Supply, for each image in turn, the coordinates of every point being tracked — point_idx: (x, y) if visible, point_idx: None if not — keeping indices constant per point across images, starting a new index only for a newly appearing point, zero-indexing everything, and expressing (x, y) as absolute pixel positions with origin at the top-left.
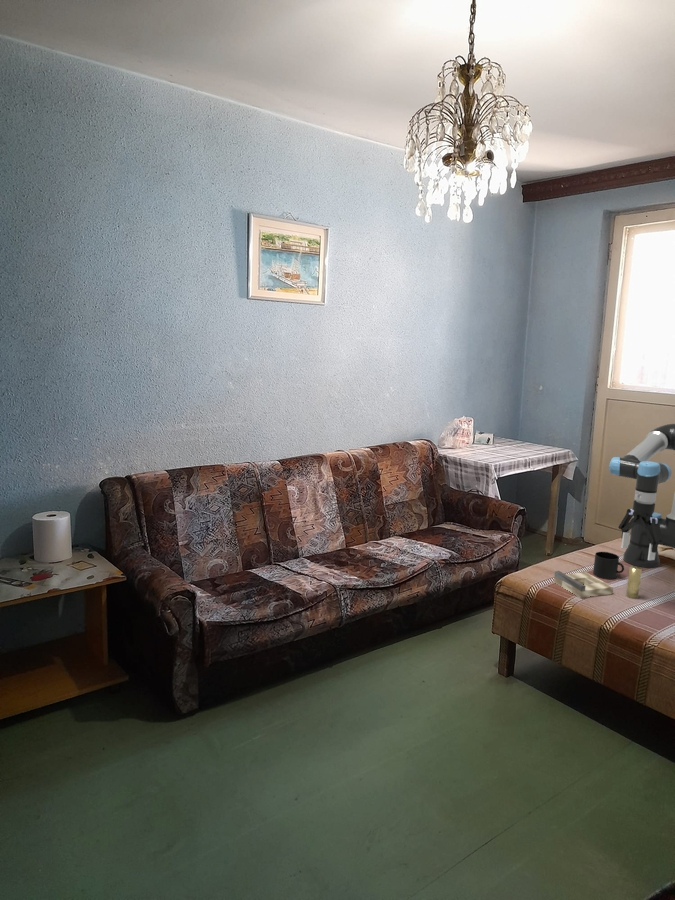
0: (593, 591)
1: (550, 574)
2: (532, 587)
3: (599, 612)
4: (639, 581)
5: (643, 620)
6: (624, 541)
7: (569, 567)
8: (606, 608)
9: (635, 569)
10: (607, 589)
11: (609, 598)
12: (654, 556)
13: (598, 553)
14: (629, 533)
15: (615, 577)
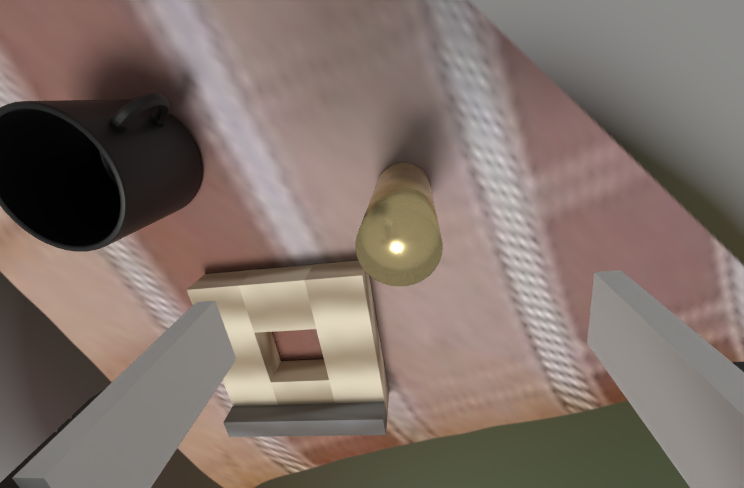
0: (378, 361)
1: None
2: (291, 467)
3: (508, 399)
4: (434, 206)
5: None
6: (189, 410)
7: (84, 265)
8: (486, 361)
9: (424, 269)
10: (368, 300)
11: (406, 298)
12: (646, 301)
13: (12, 201)
14: (64, 463)
15: (186, 131)
